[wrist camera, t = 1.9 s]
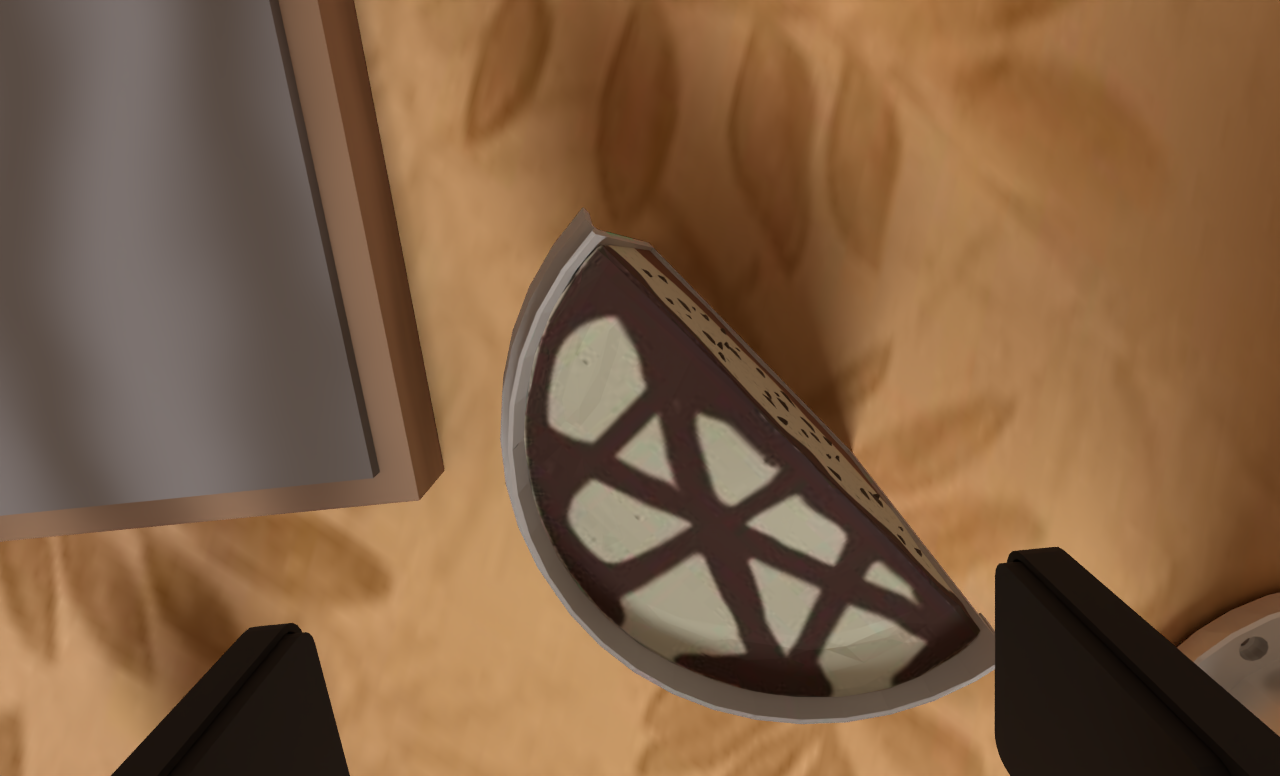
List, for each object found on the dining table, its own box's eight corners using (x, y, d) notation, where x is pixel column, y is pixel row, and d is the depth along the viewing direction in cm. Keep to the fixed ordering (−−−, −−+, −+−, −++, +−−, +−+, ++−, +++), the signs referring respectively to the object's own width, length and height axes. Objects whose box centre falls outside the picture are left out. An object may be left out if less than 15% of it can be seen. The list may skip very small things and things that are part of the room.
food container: (476, 347, 23) (339, 449, 14) (613, 206, 22) (569, 206, 12) (743, 601, 25) (790, 852, 15) (883, 483, 24) (1029, 676, 14)
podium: (324, -150, 20) (265, -210, 17) (444, 470, 24) (413, 506, 21) (-278, -54, 21) (-428, -95, 18) (-63, 521, 25) (-157, 562, 23)
